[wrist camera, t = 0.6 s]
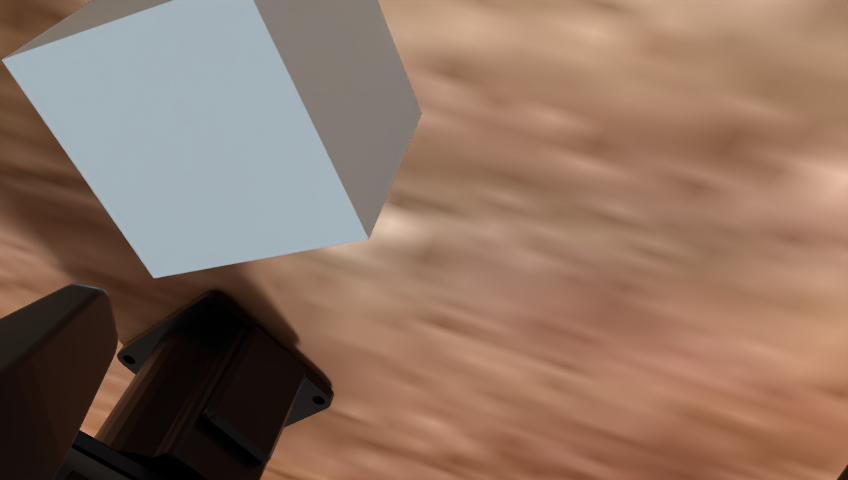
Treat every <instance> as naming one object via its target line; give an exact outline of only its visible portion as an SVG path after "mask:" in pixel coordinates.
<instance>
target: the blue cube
mask: <svg viewBox="0 0 848 480" xmlns="http://www.w3.org/2000/svg"><path fill="white" fill-rule="evenodd" d="M2 61H3V63H4V64H5V66H6V67H7V69H8V70H9V71H10V73H11V74H12V76H13V77H14V79H15V80H16V81H17V83H18V84H19V86H20V87H21V89H22V90H23V91H24V93H25V94H26V96H27V97H28V99H29V100H30V102H31V103H32V104H33V106H34V107H35V109H36V110H37V112H38V113H39V114H40V116H41V117H42V119H43V120H44V122H45V123H46V124H47V126H48V127H49V129H50V130H51V132H52V133H53V134H54V136H55V137H56V139H57V140H58V142H59V143H60V145H61V146H62V147H63V149H64V150H65V152H66V153H67V155H68V156H69V157H70V159H71V160H72V162H73V163H74V165H75V166H76V167H77V169H78V170H79V172H80V173H81V175H82V176H83V178H84V179H85V180H86V182H87V183H88V185H89V186H90V188H91V189H92V190H93V192H94V193H95V195H96V196H97V198H98V199H99V200H100V202H101V203H102V205H103V206H104V208H105V209H106V211H107V212H108V213H109V215H110V216H111V218H112V219H113V221H114V222H115V223H116V225H117V226H118V228H119V229H120V231H121V232H122V233H123V235H124V236H125V238H126V239H127V241H128V242H129V244H130V245H131V246H132V248H133V249H134V251H135V252H136V254H137V255H138V256H139V258H140V259H141V261H142V262H143V264H144V265H145V266H146V268H147V269H148V271H149V272H150V274H151V275H152V276H153V278H159V277H164V276H170V275H175V274H181V273H186V272H192V271H197V270H203V269H208V268H213V267H219V266H224V265H230V264H235V263H241V262H246V261H252V260H257V259H263V258H268V257H274V256H279V255H285V254H290V253H296V252H301V251H307V250H312V249H317V248H323V247H328V246H334V245H339V244H345V243H350V242H356V241H361V240H367V239H369V237H370V235H371V233H372V230H373V228H374V226H375V223H376V221H377V218H378V216H379V214H380V211H381V209H382V207H383V204H384V202H385V200H386V197H387V195H388V192H389V190H390V188H391V185H392V183H393V181H394V178H395V176H396V174H397V171H398V169H399V166H400V164H401V162H402V159H403V157H404V155H405V152H406V150H407V148H408V145H409V143H410V140H411V138H412V136H413V133H414V131H415V129H416V126H417V124H418V122H419V119H420V117H421V114H422V112H421V110H420V107H419V105H418V102H417V100H416V97H415V94H414V92H413V89H412V87H411V84H410V82H409V79H408V77H407V74H406V72H405V69H404V66H403V64H402V61H401V59H400V56H399V54H398V51H397V49H396V46H395V44H394V41H393V39H392V36H391V33H390V31H389V28H388V26H387V23H386V21H385V18H384V16H383V13H382V11H381V8H380V5H379V3H378V0H92V1H91V2H89V3H88V4H86V5H85V6H83V7H81V8H80V9H78V10H77V11H75V12H74V13H72V14H71V15H69V16H68V17H66V18H65V19H63V20H62V21H60V22H59V23H57V24H55V25H54V26H52V27H51V28H49V29H48V30H46V31H45V32H43V33H42V34H40V35H39V36H37V37H36V38H34V39H32V40H31V41H29V42H28V43H26V44H25V45H23V46H22V47H20V48H19V49H17V50H16V51H14V52H13V53H11V54H10V55H8V56H6V57H5V58H3V59H2Z"/></svg>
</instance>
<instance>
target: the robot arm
mask: <svg viewBox="0 0 848 480" xmlns="http://www.w3.org/2000/svg"><path fill="white" fill-rule="evenodd" d="M214 303H215V304H214ZM216 304H217V305H216ZM117 344H118V334H117V329H116V324H115V320H114V315H113V310H112V305H111V300H110V296H109V294H108V293H107V292H106V291H105V290H104V289H102V288H97V287H92V286H88V285H83V284H70V285H68V286H65V287H63V288H61V289H59V290H57V291H55V292H53V293H51V294H49V295H47V296H45V297H43V298H41V299H39V300H37V301H35V302H33V303H31V304H29V305H27V306H25V307H23V308H21V309H19V310H17V311H15V312H13V313H11V314H9V315H7V316H5V317H3V318H1V319H0V480H260V479H261V477H262V474H263V472H264V470H265V467H266V465H267V463H268V461H269V460H270V458H271V456H272V454H273V451H274V449H275V447H276V445H277V442H278V440H279V438H280V435H281V433H282V431H283V428H284V427H286V426H289V425H291V424H293V423H295V422H297V421H300V420H302V419H304V418H306V417H309V416H311V415H313V414H315V413H318V412H320V411H322V410H324V409H326V408H328V407H329V406H330V405H331V402H332V400H333V397H334V393H333V391H332V390H331V388H330V387H328V386H327V385H326V384H325V383H324V382H323V381H322V380H321V379H319V378H318V377H317V376H316V375H315V374H314V373H313V372H312V371H310V370H309V369H308V368H307V367H306V366H305V365H304V364H303V363H302V362H300V361H299V360H298V359H297V358H296V357H295V356H294V355H293V354H291V353H290V352H289V351H288V350H287V349H286V348H285V347H284V346H283V345H281V344H280V343H279V342H278V341H277V340H276V339H275V338H274V337H272V336H271V335H270V334H269V333H268V332H267V331H266V330H265V329H264V328H262V327H261V326H260V325H259V324H258V323H257V322H256V321H255V320H253V319H252V318H251V317H250V316H249V315H248V314H247V313H246V312H244V311H243V310H242V309H241V308H240V307H239V306H238V305H237V304H236V303H234V302H233V301H232V300H231V299H230V298H229V297H228V296H227V295H225V294H224V293H222V292H220V291H217V290H209V291H207V292H205V293H204V294H202V295H201V296H199V297H198V298H196V299H194V300H193V301H191V302H190V303H188V304H187V305H185V306H184V307H182V308H181V309H179V310H177V311H176V312H174V313H173V314H171V315H170V316H168V317H167V318H165V319H163V320H162V321H160V322H159V323H157V324H156V325H154V326H153V327H151V328H149V329H148V330H146V331H145V332H143V333H142V334H140V335H139V336H137V337H135V338H134V339H132V340H131V341H129V342H128V343H126V344H125V345H124V346H123V347H122V348H121V350H120V351H119V353H118V354H117V358H118V360H119V361H120V362H121V363H122V364H123V365H124V366H125V367H127V368H128V369H129V370H131V371H132V372H133V373H134V374H136V376H135V377H134V379H133V380H132V382H131V383H130V385H129V386H128V388H127V389H126V391H125V392H124V394H123V395H122V397H121V398H120V400H119V401H118V403H117V404H116V406H115V407H114V409H113V410H112V412H111V413H110V415H109V416H108V418H107V419H106V421H105V422H104V424H103V425H102V427H101V428H100V430H99V431H98V433H97V434H96V436H95V437H94V438H93V437H91V436H90V435H88V434H86V433H84V432H82V431H80V430H79V429H80V427H81V425H82V423H83V421H84V419H85V417H86V414H87V412H88V410H89V408H90V406H91V404H92V402H93V400H94V398H95V395H96V393H97V391H98V389H99V387H100V385H101V383H102V381H103V379H104V376H105V374H106V372H107V370H108V368H109V366H110V364H111V362H112V360H113V357H114V355H115V352H116V349H117ZM837 480H848V465H847V466H846V468H845V469H844V470H843V472H842V473H841V474H840V476H839V477H838V479H837Z"/></svg>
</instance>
